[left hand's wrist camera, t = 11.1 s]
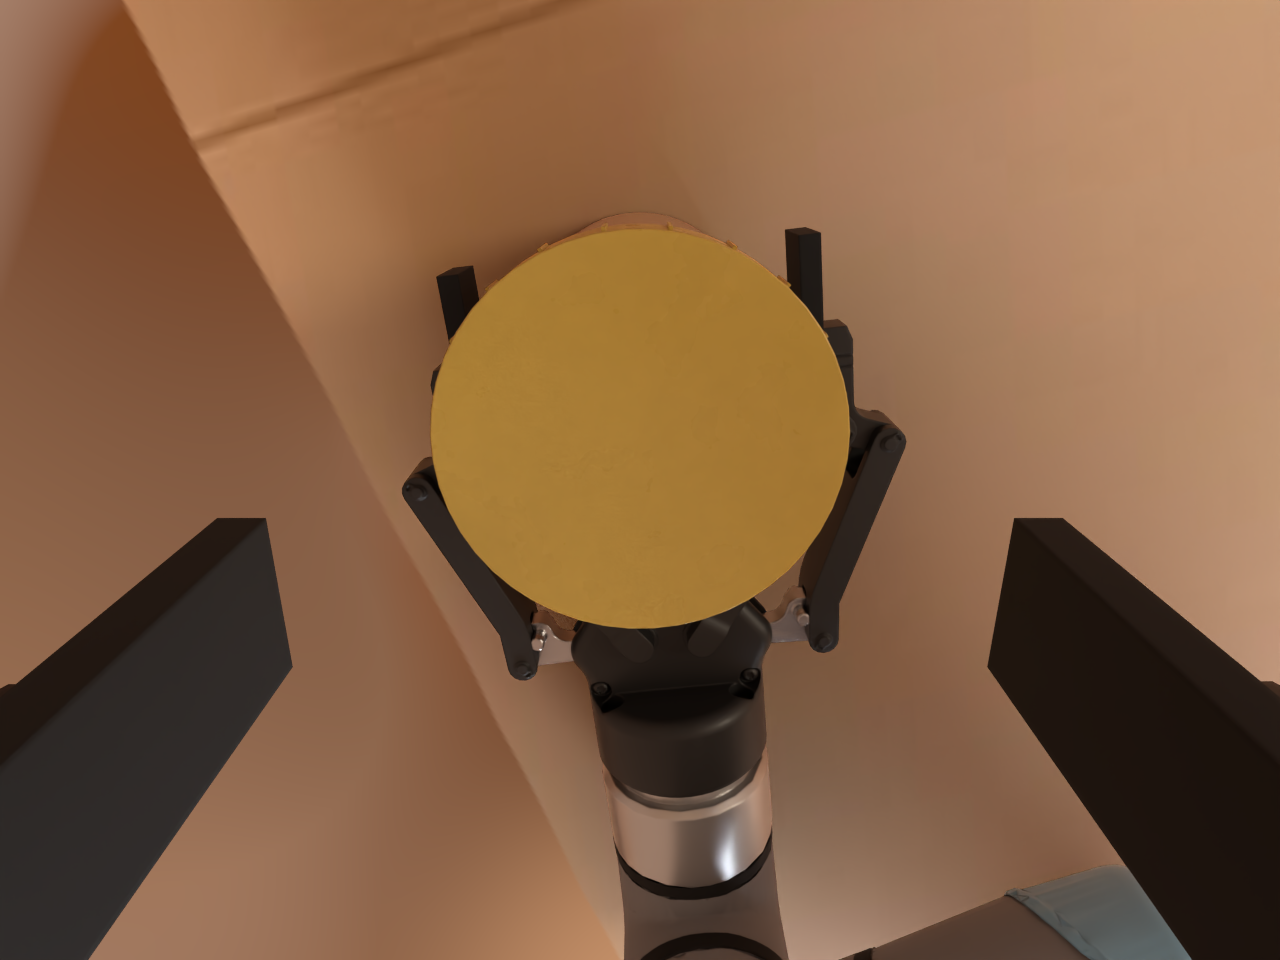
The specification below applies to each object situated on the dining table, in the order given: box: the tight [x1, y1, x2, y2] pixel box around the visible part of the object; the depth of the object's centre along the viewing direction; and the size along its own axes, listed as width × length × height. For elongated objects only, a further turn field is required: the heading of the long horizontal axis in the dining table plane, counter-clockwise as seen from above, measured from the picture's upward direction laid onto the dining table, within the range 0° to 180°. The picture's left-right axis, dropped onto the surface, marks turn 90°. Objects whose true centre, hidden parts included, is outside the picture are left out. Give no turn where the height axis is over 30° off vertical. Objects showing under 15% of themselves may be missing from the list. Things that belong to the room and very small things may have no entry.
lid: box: [430, 222, 850, 628], centre depth 21 cm, size 10×10×2 cm
